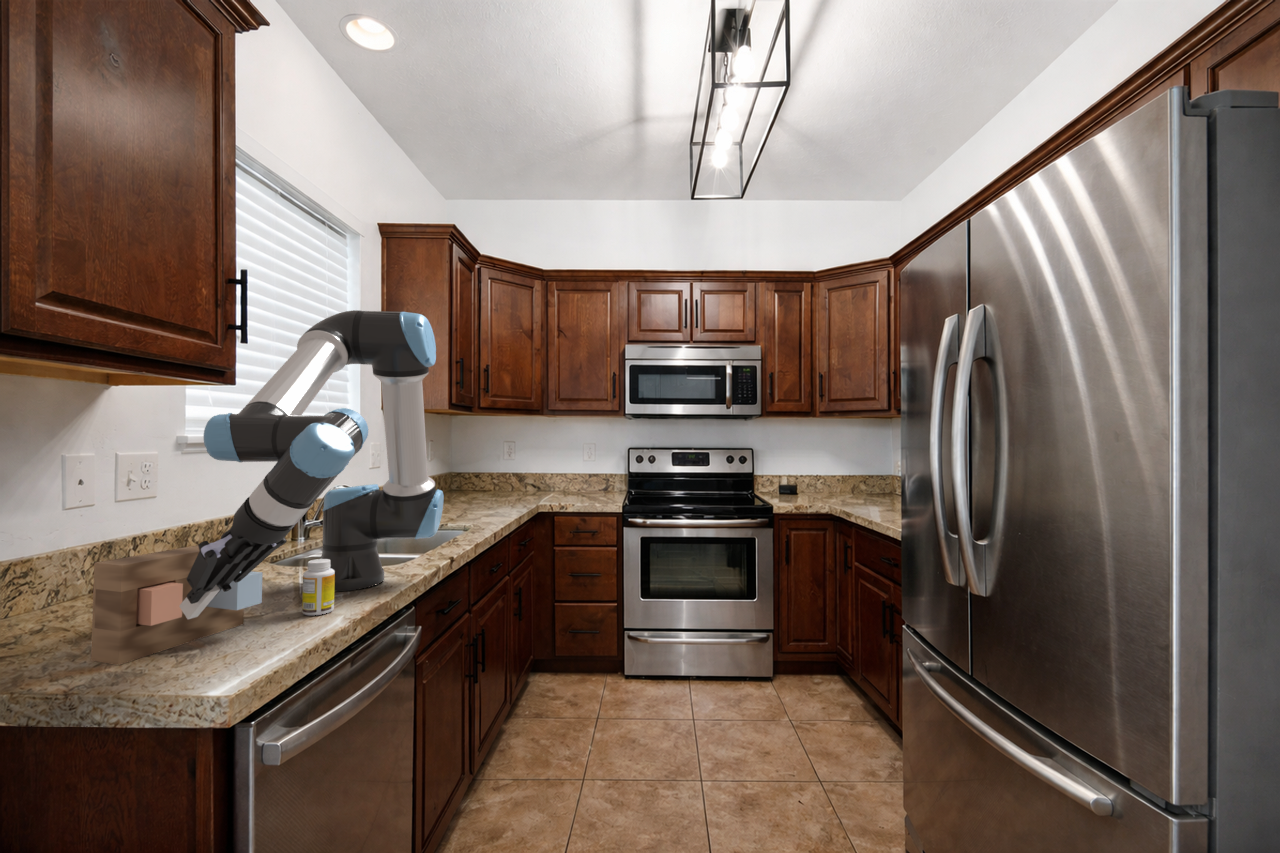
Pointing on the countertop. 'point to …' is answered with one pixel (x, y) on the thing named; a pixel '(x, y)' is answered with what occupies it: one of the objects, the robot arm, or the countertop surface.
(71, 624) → the countertop surface
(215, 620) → the brown wooden block
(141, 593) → the terracotta button
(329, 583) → the supplement bottle
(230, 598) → the slate button
